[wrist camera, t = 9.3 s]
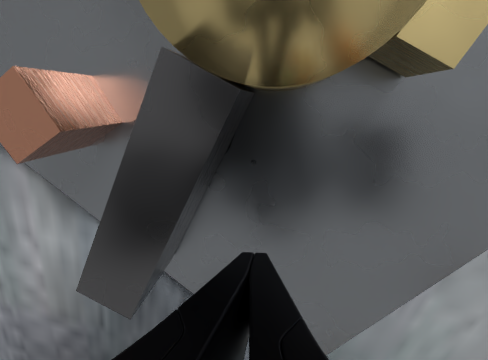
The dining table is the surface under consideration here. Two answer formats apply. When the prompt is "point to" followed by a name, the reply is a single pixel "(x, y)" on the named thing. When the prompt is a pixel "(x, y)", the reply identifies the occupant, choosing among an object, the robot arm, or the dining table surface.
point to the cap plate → (268, 160)
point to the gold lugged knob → (241, 106)
